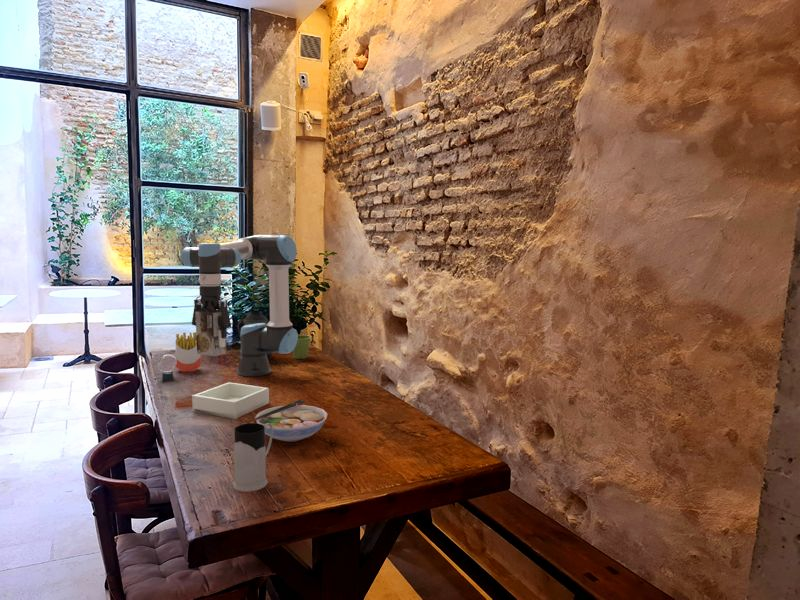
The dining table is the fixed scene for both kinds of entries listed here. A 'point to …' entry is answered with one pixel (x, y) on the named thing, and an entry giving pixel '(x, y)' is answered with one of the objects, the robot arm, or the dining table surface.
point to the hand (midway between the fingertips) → (211, 345)
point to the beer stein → (253, 318)
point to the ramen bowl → (292, 421)
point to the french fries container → (187, 353)
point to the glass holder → (250, 456)
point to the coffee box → (208, 333)
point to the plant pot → (302, 347)
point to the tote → (230, 400)
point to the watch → (166, 374)
